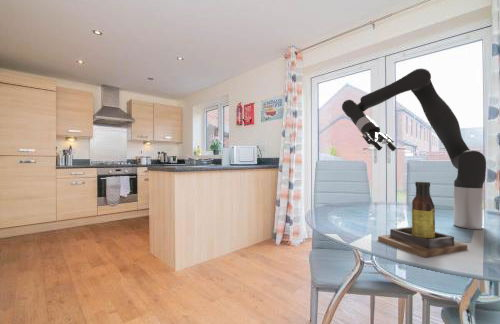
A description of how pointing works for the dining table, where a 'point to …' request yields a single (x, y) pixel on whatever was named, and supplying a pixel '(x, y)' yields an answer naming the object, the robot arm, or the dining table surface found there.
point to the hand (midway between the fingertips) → (387, 149)
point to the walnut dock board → (422, 243)
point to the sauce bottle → (423, 212)
